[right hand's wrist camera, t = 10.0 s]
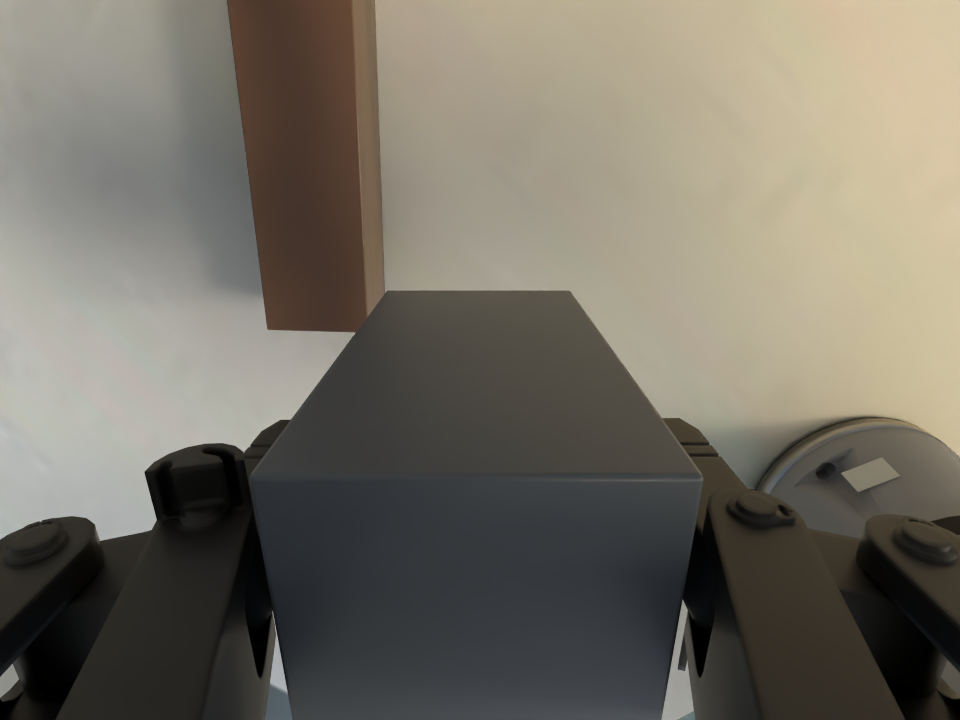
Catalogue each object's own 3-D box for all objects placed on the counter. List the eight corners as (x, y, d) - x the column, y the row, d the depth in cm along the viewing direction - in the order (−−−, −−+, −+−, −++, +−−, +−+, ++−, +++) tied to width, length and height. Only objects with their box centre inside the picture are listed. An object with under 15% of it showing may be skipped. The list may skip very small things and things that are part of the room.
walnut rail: (367, -231, 24) (336, -346, 19) (385, 303, 34) (368, 333, 28) (249, -238, 24) (182, -355, 19) (300, 301, 34) (267, 330, 28)
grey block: (570, 290, 14) (707, 476, 6) (560, 451, 16) (653, 778, 7) (386, 290, 14) (244, 475, 6) (396, 451, 16) (301, 778, 7)
